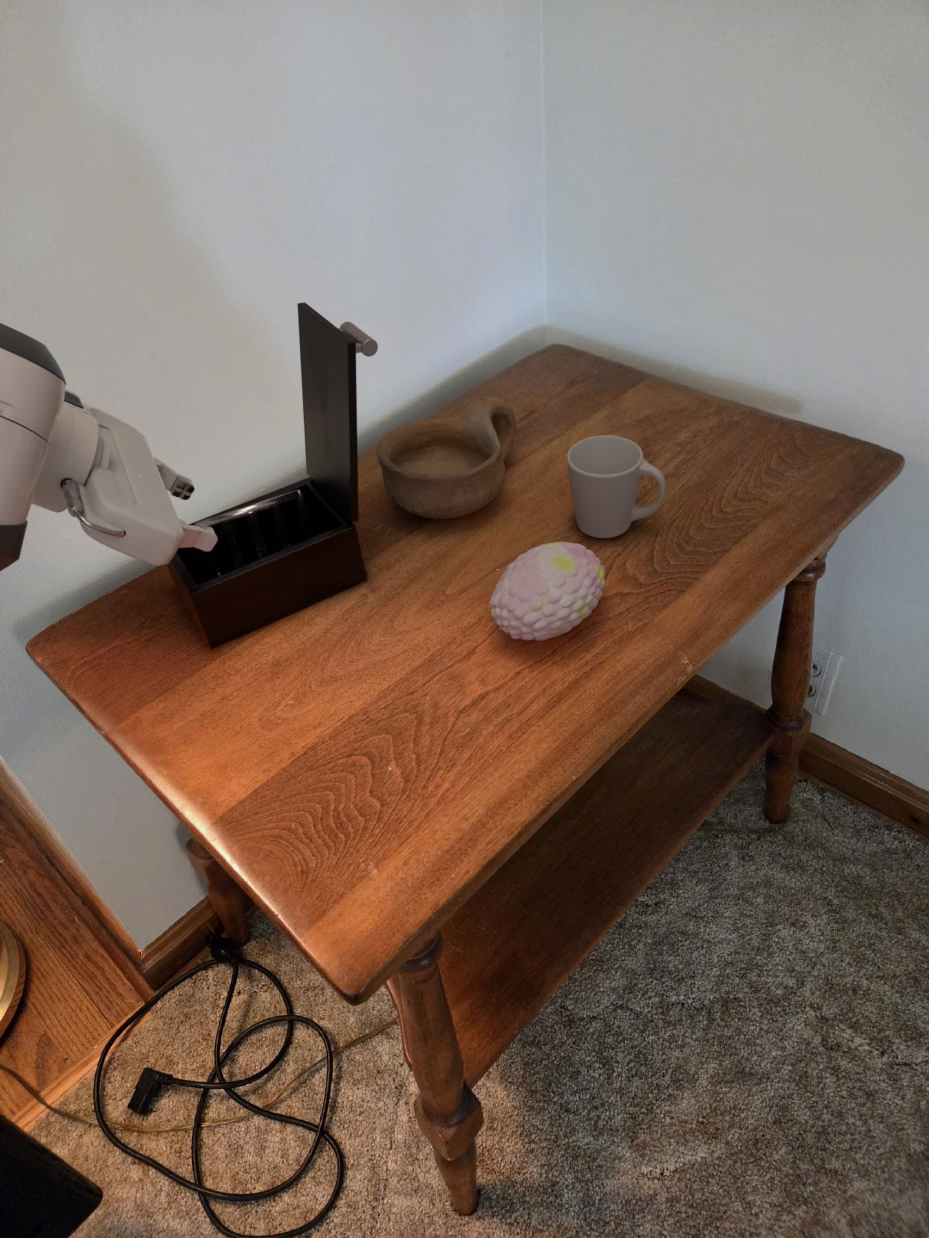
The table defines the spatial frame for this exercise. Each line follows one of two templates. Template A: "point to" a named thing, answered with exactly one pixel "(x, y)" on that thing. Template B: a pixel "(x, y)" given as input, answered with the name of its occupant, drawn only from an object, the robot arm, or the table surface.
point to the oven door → (331, 404)
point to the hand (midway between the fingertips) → (201, 515)
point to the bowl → (449, 460)
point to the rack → (257, 527)
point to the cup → (609, 484)
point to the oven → (269, 567)
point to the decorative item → (547, 591)
